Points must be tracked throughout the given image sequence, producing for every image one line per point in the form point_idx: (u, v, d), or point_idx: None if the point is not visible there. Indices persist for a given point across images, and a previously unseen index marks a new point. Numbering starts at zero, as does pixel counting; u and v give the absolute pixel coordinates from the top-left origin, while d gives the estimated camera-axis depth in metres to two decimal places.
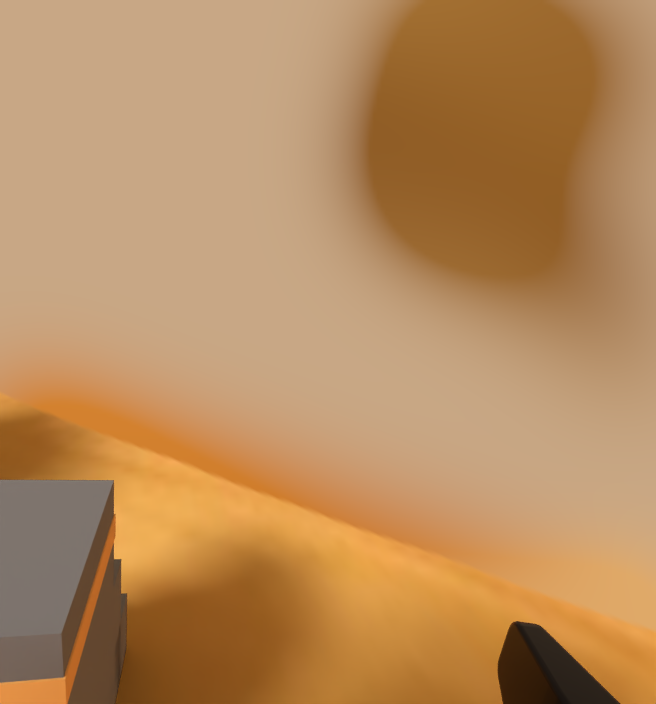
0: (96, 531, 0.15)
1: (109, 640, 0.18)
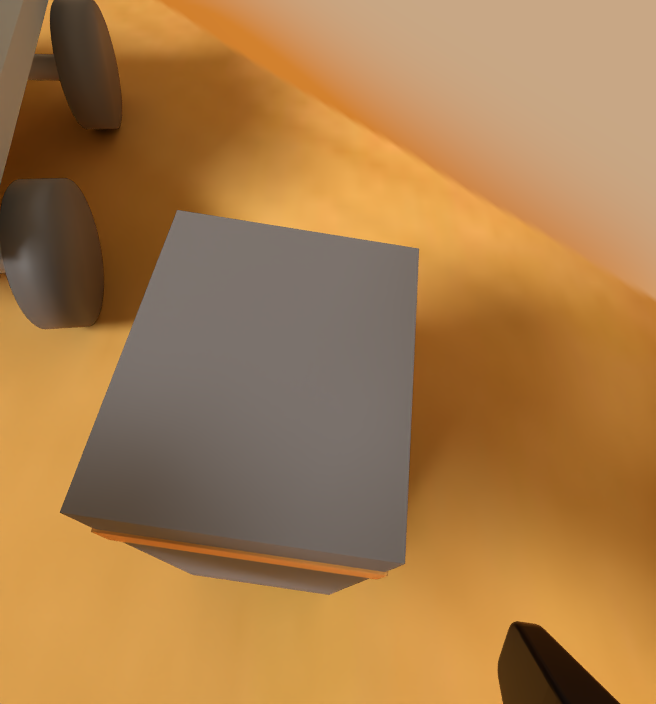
0: (413, 355, 0.09)
1: None
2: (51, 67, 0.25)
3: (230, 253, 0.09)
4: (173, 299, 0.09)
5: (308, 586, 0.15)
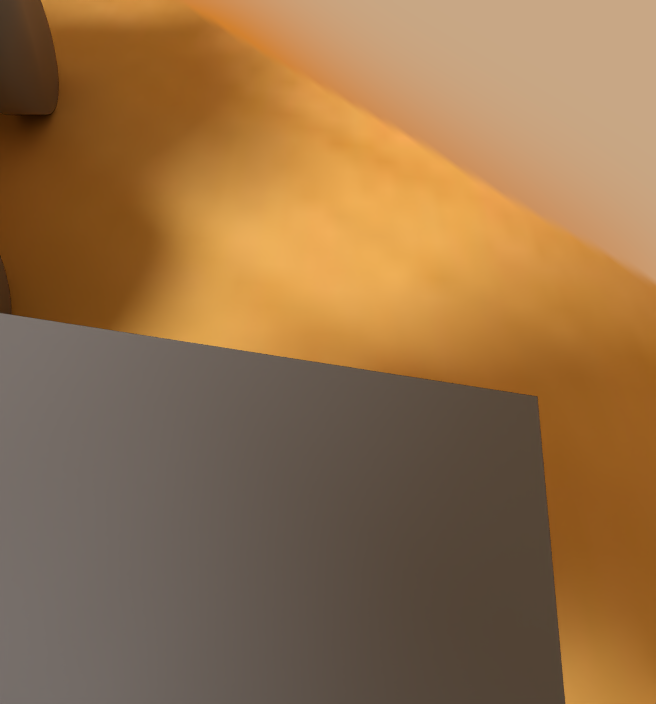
0: None
1: None
2: None
3: None
4: None
5: None
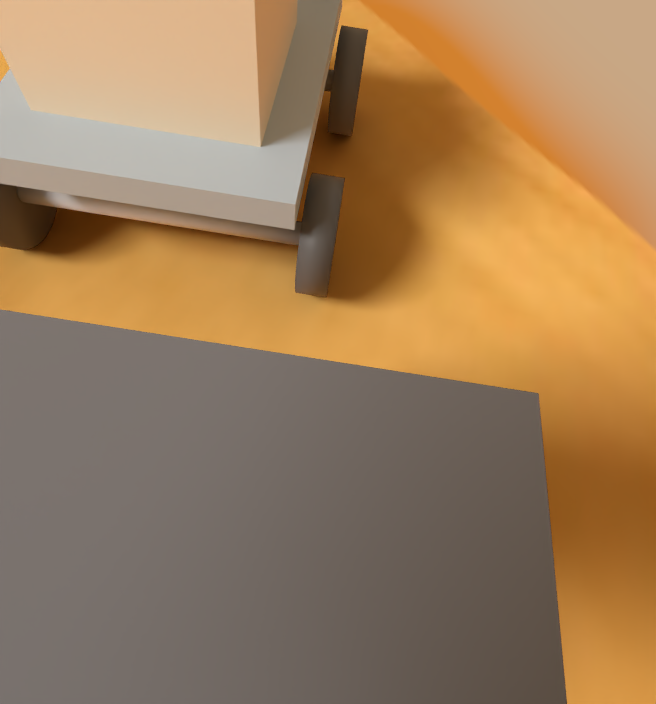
0: None
1: None
2: None
3: None
4: None
5: None
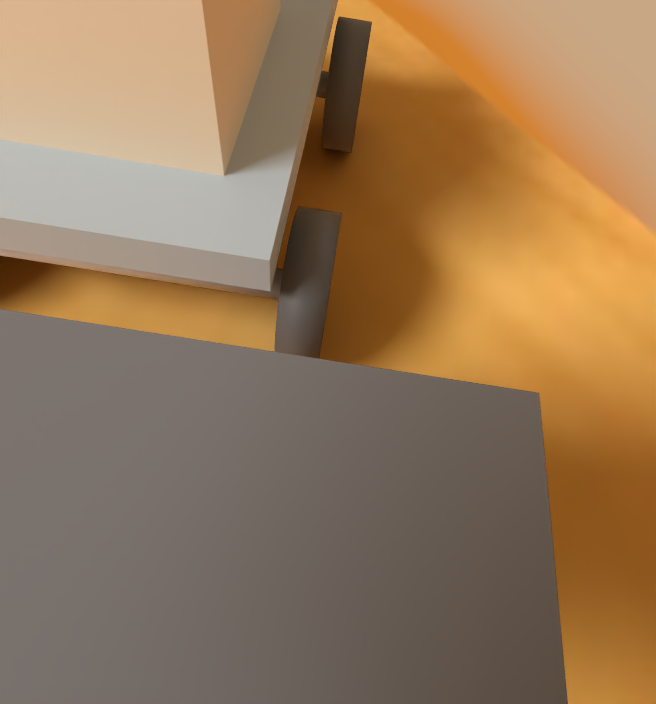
0: None
1: None
2: None
3: None
4: None
5: None
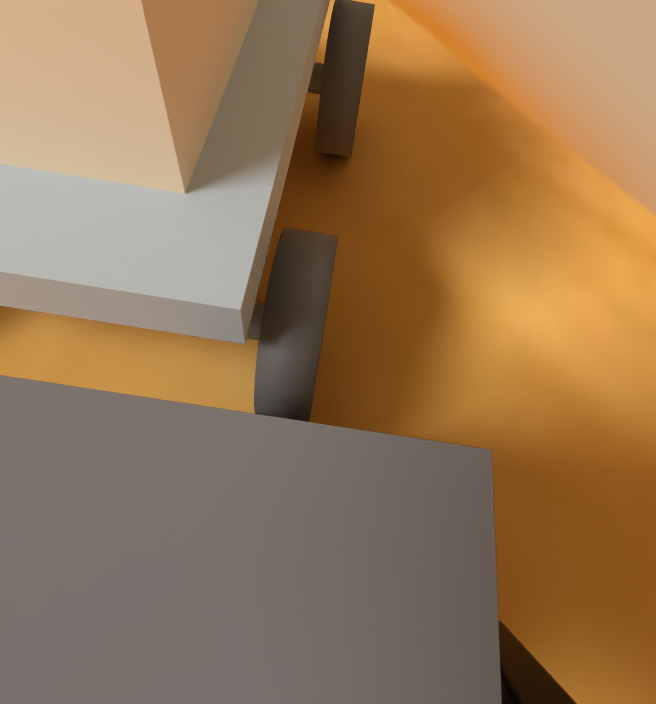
0: None
1: None
2: None
3: (49, 488, 0.04)
4: None
5: None
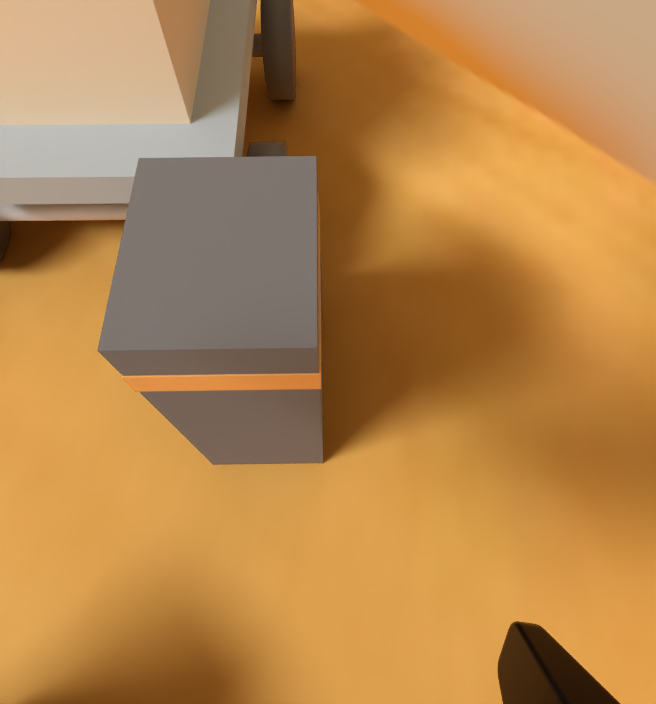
0: (316, 227, 0.12)
1: None
2: None
3: (180, 181, 0.13)
4: (146, 217, 0.13)
5: (298, 445, 0.19)
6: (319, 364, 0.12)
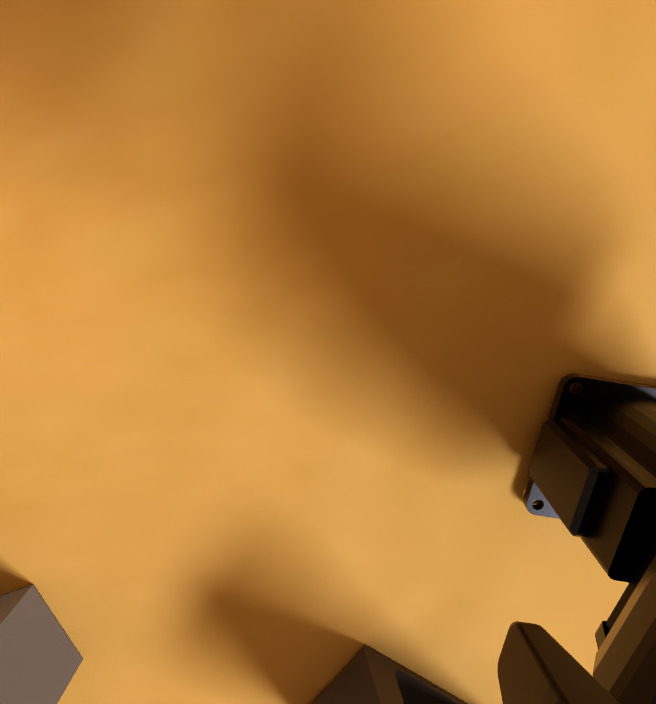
0: None
1: None
2: None
3: None
4: None
5: None
6: None
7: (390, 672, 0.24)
